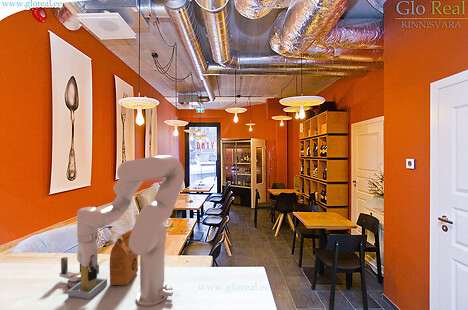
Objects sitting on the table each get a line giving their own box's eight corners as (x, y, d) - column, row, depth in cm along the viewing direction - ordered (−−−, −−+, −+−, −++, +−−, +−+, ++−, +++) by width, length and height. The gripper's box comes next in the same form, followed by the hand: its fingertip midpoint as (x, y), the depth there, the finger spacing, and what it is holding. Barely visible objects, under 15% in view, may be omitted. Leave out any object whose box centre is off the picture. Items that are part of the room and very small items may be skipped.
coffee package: (141, 272, 111) (141, 229, 110) (126, 288, 99) (126, 239, 98) (122, 271, 112) (122, 228, 111) (106, 286, 100) (105, 238, 99)
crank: (87, 276, 103) (87, 259, 103) (75, 283, 98) (74, 265, 97) (68, 271, 107) (68, 255, 107) (55, 278, 102) (55, 260, 101)
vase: (84, 295, 92) (84, 261, 92) (77, 290, 95) (76, 257, 95) (99, 287, 97) (99, 255, 97) (92, 283, 101) (92, 252, 100)
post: (99, 272, 111) (99, 264, 110) (96, 274, 109) (96, 266, 109) (95, 272, 111) (95, 264, 111) (93, 274, 109) (92, 266, 109)
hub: (89, 280, 104) (89, 275, 104) (77, 289, 97) (77, 285, 97) (76, 278, 105) (76, 274, 105) (63, 287, 98) (63, 283, 98)
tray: (107, 285, 101) (106, 279, 101) (89, 300, 91) (89, 293, 91) (87, 282, 102) (87, 276, 102) (68, 297, 92) (68, 290, 92)
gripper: (70, 233, 98) (71, 271, 99) (85, 245, 87) (85, 287, 88) (90, 229, 104) (90, 265, 105) (105, 239, 93) (106, 278, 94)
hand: (88, 275), depth 96 cm, fingers open, 9 cm apart
